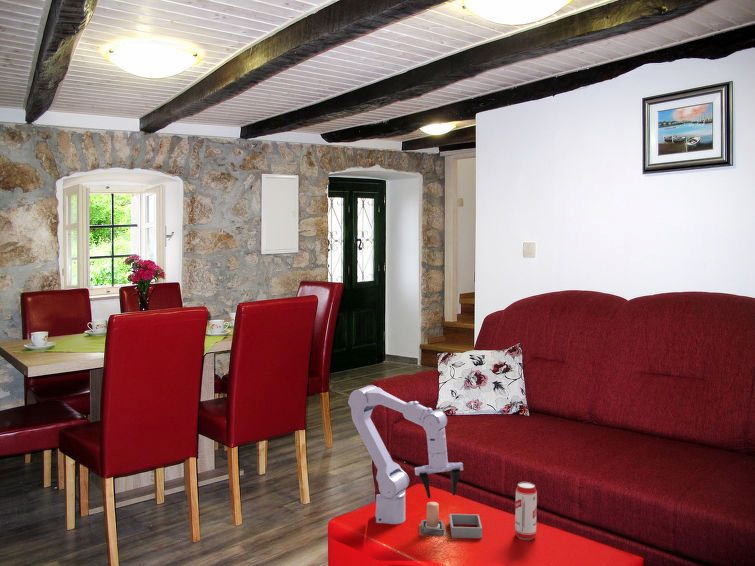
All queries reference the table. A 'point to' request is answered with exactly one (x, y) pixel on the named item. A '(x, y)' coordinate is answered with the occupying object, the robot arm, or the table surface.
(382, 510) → the robot arm
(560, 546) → the table surface
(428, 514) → the peach cylinder
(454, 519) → the bin
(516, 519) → the beer can
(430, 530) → the square framed plate
